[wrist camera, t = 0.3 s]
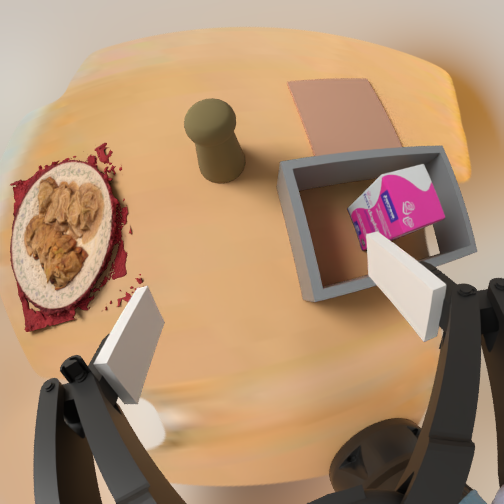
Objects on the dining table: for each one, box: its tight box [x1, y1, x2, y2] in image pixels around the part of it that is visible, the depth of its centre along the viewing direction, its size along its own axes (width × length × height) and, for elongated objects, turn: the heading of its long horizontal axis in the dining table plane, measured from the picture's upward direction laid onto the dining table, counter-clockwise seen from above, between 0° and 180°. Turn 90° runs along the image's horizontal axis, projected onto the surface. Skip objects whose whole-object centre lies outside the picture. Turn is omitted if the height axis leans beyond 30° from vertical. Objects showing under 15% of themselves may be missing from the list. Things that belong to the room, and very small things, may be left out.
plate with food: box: [10, 143, 144, 332], centre depth 32 cm, size 25×26×4 cm
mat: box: [287, 79, 402, 156], centre depth 34 cm, size 14×14×1 cm
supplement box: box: [347, 164, 445, 251], centre depth 26 cm, size 6×6×12 cm
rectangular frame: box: [277, 146, 477, 302], centre depth 28 cm, size 14×22×7 cm, turn 102°
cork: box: [184, 99, 245, 183], centre depth 28 cm, size 6×6×11 cm
